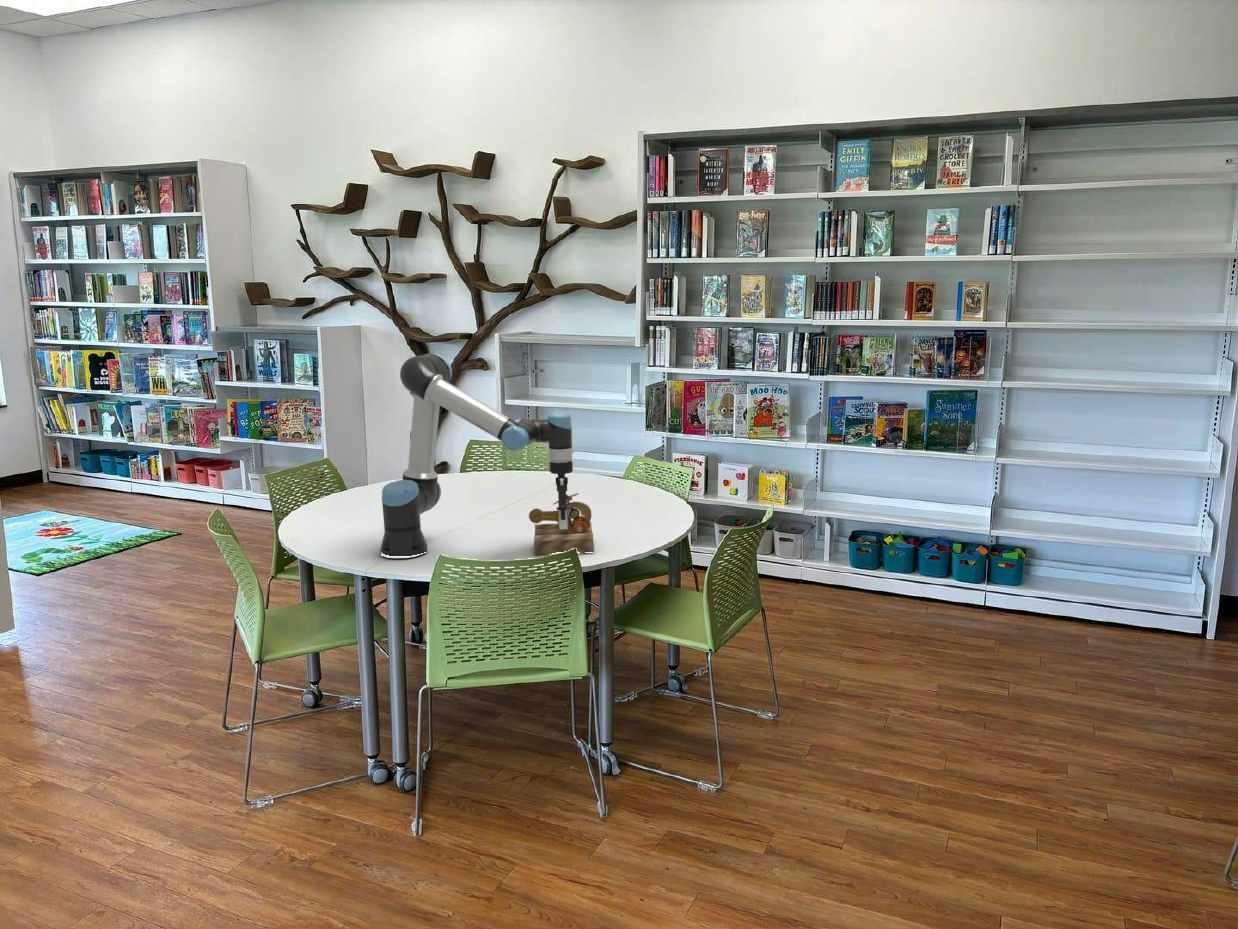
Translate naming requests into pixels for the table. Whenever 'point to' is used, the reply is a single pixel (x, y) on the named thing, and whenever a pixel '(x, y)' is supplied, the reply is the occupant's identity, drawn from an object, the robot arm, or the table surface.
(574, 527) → the toy helicopter
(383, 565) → the table surface
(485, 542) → the table surface
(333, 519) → the table surface
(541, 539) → the display stand
